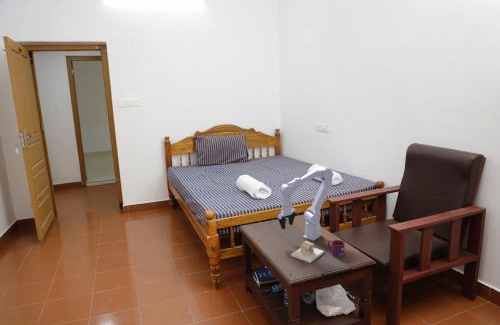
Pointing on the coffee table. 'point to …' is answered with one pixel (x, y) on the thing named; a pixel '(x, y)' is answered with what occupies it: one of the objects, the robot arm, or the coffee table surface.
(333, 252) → the mug
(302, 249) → the maple cube
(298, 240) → the coffee table surface
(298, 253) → the ceramic tile
